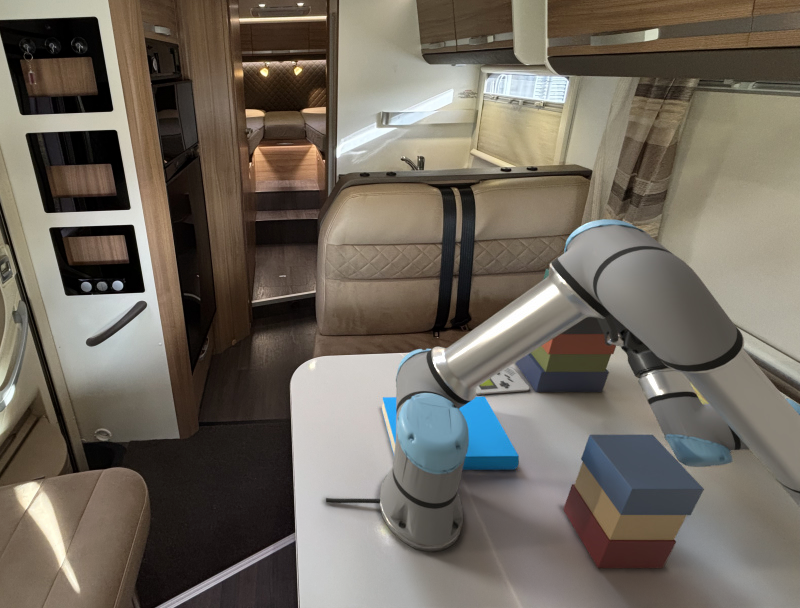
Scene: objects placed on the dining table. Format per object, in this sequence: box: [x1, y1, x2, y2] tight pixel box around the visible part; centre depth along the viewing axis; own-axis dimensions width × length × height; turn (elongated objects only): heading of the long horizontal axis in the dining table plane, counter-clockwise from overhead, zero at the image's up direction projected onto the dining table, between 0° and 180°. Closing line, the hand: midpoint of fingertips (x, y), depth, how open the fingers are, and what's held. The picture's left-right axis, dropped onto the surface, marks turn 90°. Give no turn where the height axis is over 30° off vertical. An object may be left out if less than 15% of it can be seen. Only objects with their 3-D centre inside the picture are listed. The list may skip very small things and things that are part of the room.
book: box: [381, 396, 520, 471], centre depth 96 cm, size 17×4×25 cm
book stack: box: [514, 268, 617, 393], centre depth 109 cm, size 11×17×30 cm, turn 90°
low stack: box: [562, 434, 705, 569], centre depth 73 cm, size 11×10×20 cm
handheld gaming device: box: [476, 366, 530, 396], centre depth 113 cm, size 9×1×15 cm
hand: (604, 271), depth 97 cm, fingers closed on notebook, 5 cm apart
